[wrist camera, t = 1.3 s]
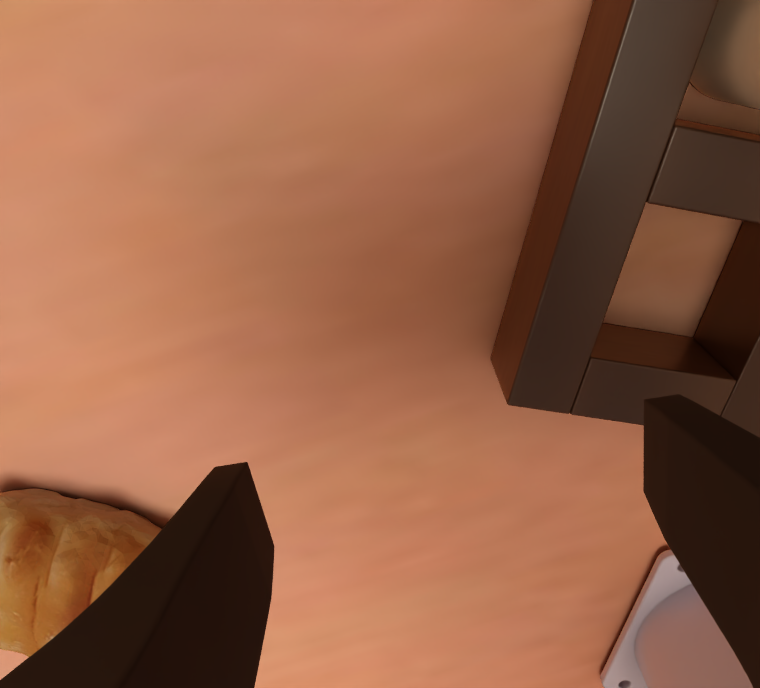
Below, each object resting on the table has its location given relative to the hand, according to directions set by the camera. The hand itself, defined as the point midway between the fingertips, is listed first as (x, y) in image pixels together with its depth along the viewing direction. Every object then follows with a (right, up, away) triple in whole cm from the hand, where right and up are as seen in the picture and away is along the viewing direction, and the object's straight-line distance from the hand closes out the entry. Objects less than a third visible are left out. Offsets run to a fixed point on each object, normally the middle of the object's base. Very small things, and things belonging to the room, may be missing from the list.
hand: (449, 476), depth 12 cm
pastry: (-12, -6, +14) cm, 20 cm away
